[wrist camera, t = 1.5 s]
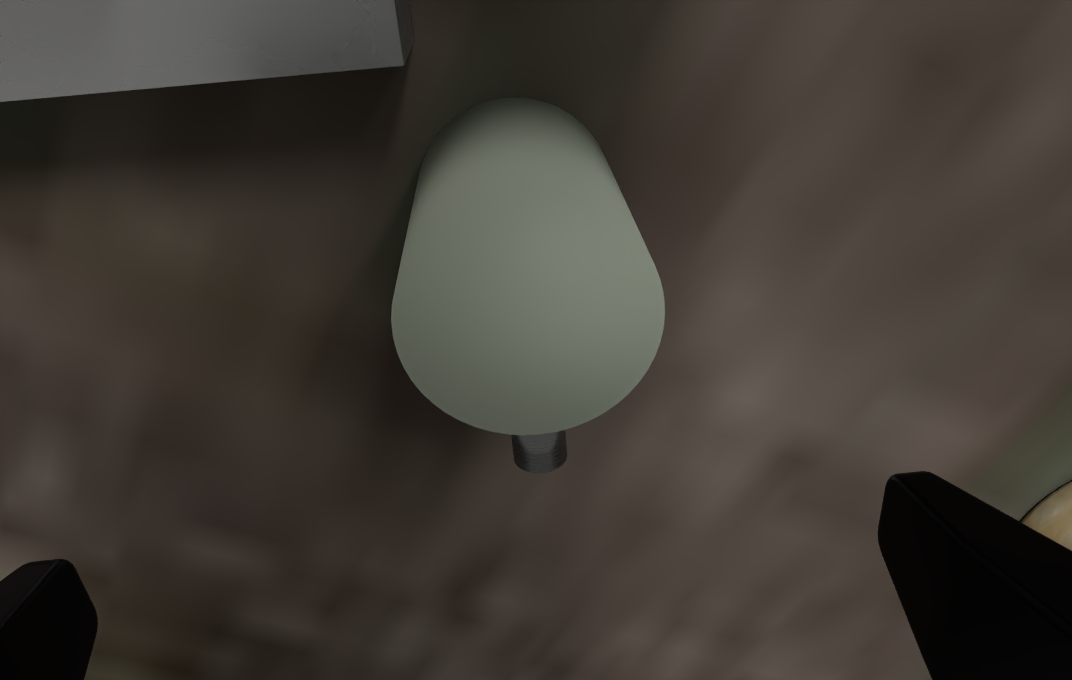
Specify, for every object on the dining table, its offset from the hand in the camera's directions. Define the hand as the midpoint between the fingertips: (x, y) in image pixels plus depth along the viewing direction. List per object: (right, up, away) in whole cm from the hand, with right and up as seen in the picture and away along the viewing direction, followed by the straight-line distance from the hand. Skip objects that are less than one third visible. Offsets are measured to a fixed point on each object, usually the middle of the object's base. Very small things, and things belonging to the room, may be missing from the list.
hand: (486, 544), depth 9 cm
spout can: (0, +6, +12) cm, 13 cm away
